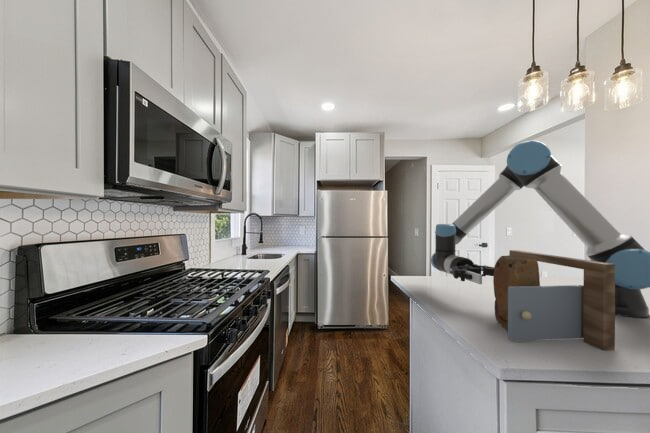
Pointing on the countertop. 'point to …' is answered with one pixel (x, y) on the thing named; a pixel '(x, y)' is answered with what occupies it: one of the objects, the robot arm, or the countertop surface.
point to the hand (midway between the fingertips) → (502, 279)
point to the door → (545, 312)
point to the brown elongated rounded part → (512, 281)
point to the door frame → (590, 297)
